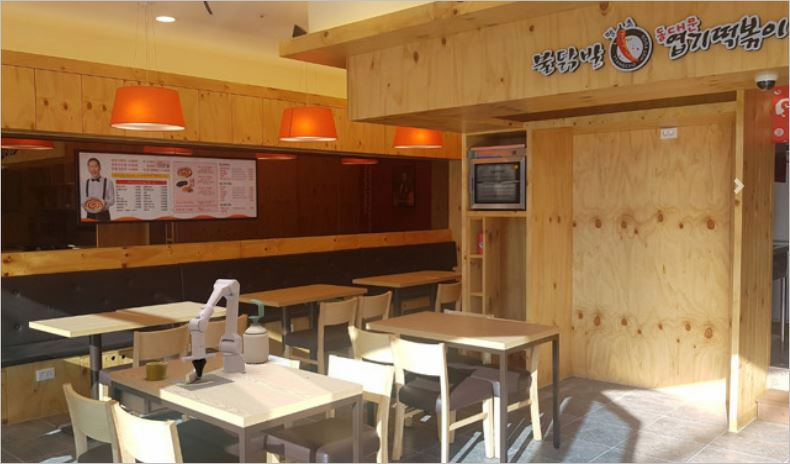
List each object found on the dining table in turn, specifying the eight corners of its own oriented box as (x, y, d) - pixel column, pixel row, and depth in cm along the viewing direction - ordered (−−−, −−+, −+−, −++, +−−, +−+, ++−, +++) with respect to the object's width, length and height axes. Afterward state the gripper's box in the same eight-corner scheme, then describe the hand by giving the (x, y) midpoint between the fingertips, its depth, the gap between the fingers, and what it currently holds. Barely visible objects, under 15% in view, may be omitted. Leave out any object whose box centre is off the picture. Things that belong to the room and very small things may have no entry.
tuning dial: (193, 377, 316) (192, 367, 316) (202, 377, 315) (202, 367, 315) (180, 384, 303) (180, 374, 303) (190, 385, 302) (190, 374, 302)
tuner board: (210, 375, 324) (210, 373, 324) (235, 383, 308) (235, 381, 308) (166, 384, 309) (166, 381, 309) (190, 393, 293) (190, 390, 293)
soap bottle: (251, 358, 358) (249, 297, 357) (273, 359, 355) (271, 298, 354) (239, 364, 346) (237, 301, 345) (262, 365, 343) (260, 301, 342)
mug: (163, 379, 310) (158, 357, 312) (143, 386, 312) (138, 364, 314) (178, 378, 321) (173, 357, 323) (159, 384, 323) (154, 363, 326)
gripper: (211, 342, 314) (212, 372, 315) (179, 346, 306) (180, 377, 307) (217, 344, 309) (218, 375, 309) (184, 349, 300) (185, 380, 301)
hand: (199, 376), depth 308 cm, fingers closed
